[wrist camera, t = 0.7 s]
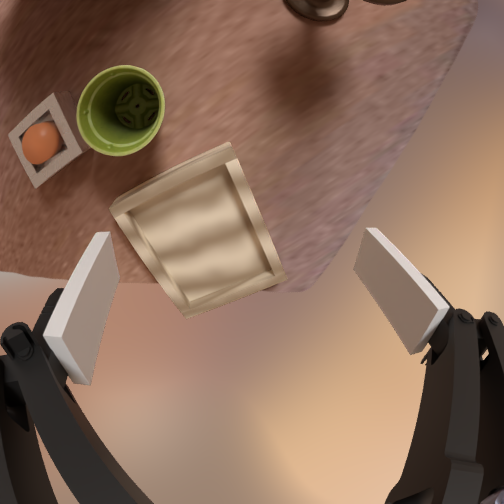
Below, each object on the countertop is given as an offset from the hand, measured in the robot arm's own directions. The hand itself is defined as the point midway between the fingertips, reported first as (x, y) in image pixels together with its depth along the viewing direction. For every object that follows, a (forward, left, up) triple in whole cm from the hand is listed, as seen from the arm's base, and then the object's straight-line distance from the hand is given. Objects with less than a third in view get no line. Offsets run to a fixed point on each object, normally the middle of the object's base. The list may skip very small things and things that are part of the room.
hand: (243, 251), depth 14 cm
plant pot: (-10, -7, -25) cm, 28 cm away
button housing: (-13, -19, -24) cm, 34 cm away
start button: (-13, -19, -22) cm, 32 cm away
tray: (+10, -7, -24) cm, 27 cm away
